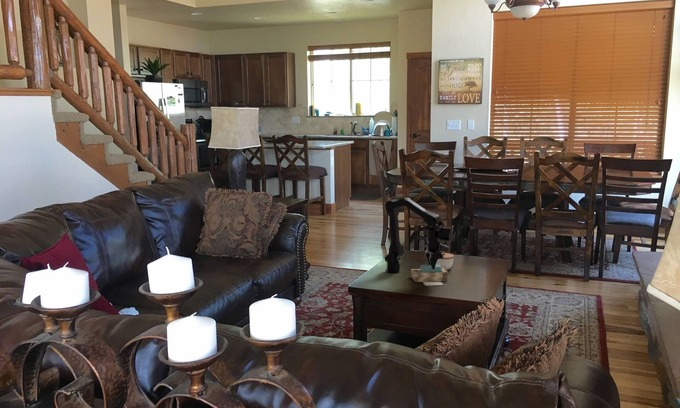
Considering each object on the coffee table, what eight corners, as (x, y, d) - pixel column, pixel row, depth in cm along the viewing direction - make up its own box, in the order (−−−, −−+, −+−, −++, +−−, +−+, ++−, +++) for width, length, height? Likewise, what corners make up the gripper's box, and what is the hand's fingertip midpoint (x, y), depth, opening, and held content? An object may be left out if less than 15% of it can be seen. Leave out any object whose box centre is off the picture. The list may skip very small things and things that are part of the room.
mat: (425, 285, 284) (425, 284, 284) (423, 282, 289) (423, 282, 289) (443, 285, 285) (443, 284, 285) (440, 282, 290) (440, 281, 290)
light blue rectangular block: (422, 274, 292) (422, 267, 291) (420, 272, 296) (420, 265, 296) (441, 274, 293) (441, 266, 293) (438, 271, 298) (439, 264, 297)
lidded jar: (453, 271, 310) (453, 255, 309) (433, 270, 312) (434, 253, 311) (453, 266, 321) (453, 250, 319) (434, 265, 323) (434, 249, 321)
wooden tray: (415, 281, 290) (415, 272, 289) (411, 277, 298) (411, 268, 298) (447, 281, 292) (447, 271, 291) (442, 276, 300) (443, 267, 299)
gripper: (453, 242, 284) (452, 272, 286) (442, 234, 302) (441, 263, 304) (432, 242, 282) (431, 273, 285) (422, 235, 301) (421, 263, 303)
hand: (432, 267), depth 294 cm, fingers closed on light blue rectangular block, 4 cm apart
